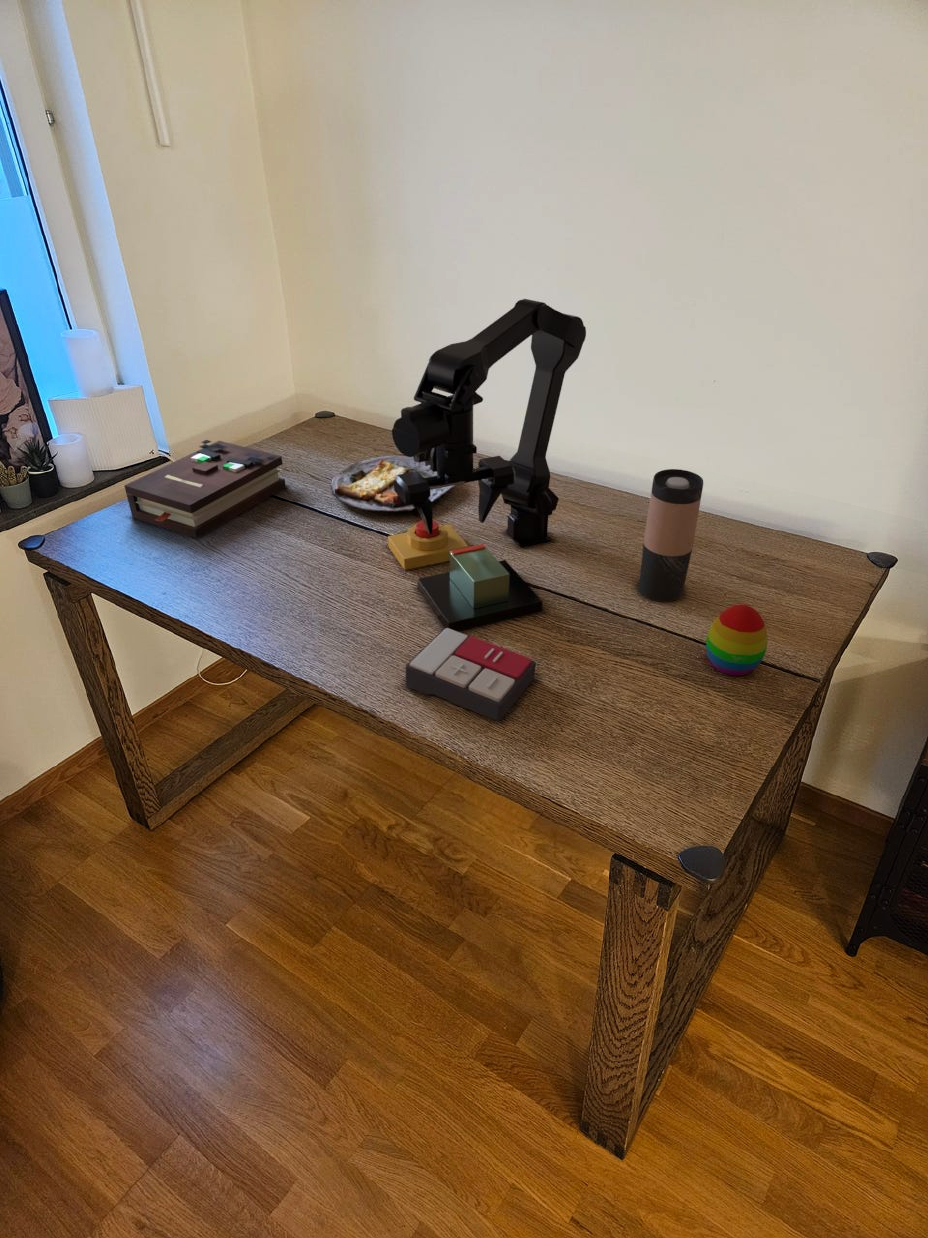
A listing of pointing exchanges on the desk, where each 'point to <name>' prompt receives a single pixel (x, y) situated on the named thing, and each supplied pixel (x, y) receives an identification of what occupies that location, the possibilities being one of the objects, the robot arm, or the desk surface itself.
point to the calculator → (470, 673)
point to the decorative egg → (737, 640)
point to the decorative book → (205, 488)
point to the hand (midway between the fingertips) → (455, 527)
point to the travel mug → (669, 533)
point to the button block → (425, 547)
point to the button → (422, 530)
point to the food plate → (379, 483)
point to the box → (479, 576)
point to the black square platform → (463, 616)
